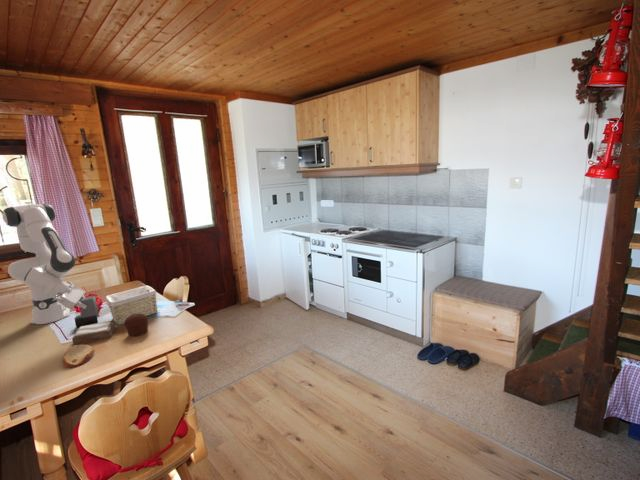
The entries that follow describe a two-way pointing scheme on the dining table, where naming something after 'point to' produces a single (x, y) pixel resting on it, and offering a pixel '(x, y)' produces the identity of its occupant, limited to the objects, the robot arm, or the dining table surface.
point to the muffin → (136, 324)
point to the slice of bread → (77, 355)
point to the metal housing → (89, 306)
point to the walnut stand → (93, 332)
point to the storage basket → (132, 303)
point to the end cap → (85, 320)
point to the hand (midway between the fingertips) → (87, 305)
